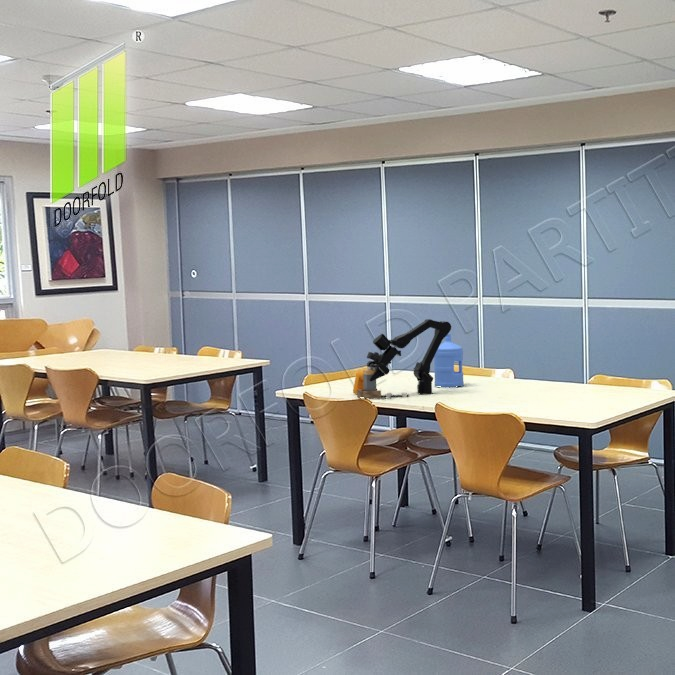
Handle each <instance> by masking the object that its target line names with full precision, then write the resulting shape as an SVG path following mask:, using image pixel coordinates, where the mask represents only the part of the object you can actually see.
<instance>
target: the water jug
mask: <svg viewBox="0 0 675 675" xmlns="http://www.w3.org/2000/svg"><path fill="white" fill-rule="evenodd" d="M451 335H452V334H450V333H448V335H447V336H446V337H445V338H444V342H442V343H441V344H440V346H439V348H438V350H437V352H436V354H435V356H434V358H433V363H434V364H433V365H434V366H433V370H434V387H436V386H441V387H456V386H462V387H463V386H464V385H465V384H464V382H465V381H464V371H463V358H464V350H463V347H462V346H461V345H458V344H456V343H454V342H452V338H451V337H452V336H451ZM455 362H458V371H455V365H454V364H455ZM456 388H457V387H456Z"/></svg>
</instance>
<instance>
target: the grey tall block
mask: <svg viewBox="0 0 675 675" xmlns="http://www.w3.org/2000/svg"><path fill="white" fill-rule="evenodd" d="M362 371H363V386H364V391H376V388H377V379H376V380H374V381H370V378H371V377H372V375H373V374H374V372H375V370H373V369H372V367H367V366H366V369H362Z"/></svg>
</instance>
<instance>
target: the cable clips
mask: <svg viewBox="0 0 675 675" xmlns="http://www.w3.org/2000/svg"><path fill="white" fill-rule="evenodd" d="M385 394H386V397H391V395H392V392H387V393H385ZM401 395H402V396H403V397H402V398H408V397H407V395H408V394H407V392H401ZM386 397H385V398H386ZM391 398H392V397H391Z"/></svg>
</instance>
